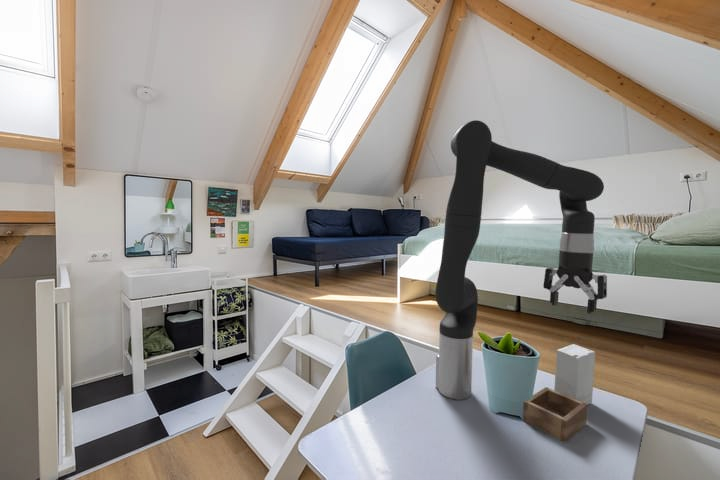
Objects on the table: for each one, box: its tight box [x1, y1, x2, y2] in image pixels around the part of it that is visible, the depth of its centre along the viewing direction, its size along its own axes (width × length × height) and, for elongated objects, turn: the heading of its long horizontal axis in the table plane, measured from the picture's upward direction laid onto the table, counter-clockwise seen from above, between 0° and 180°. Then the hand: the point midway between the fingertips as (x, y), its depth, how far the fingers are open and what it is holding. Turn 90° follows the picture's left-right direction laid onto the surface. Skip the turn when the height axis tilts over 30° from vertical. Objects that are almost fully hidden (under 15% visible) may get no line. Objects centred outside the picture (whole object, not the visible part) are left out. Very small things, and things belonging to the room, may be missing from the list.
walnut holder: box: [522, 386, 588, 444], centre depth 77 cm, size 10×12×5 cm
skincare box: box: [553, 343, 596, 406], centre depth 85 cm, size 8×6×15 cm
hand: (571, 309), depth 85 cm, fingers open, 8 cm apart
